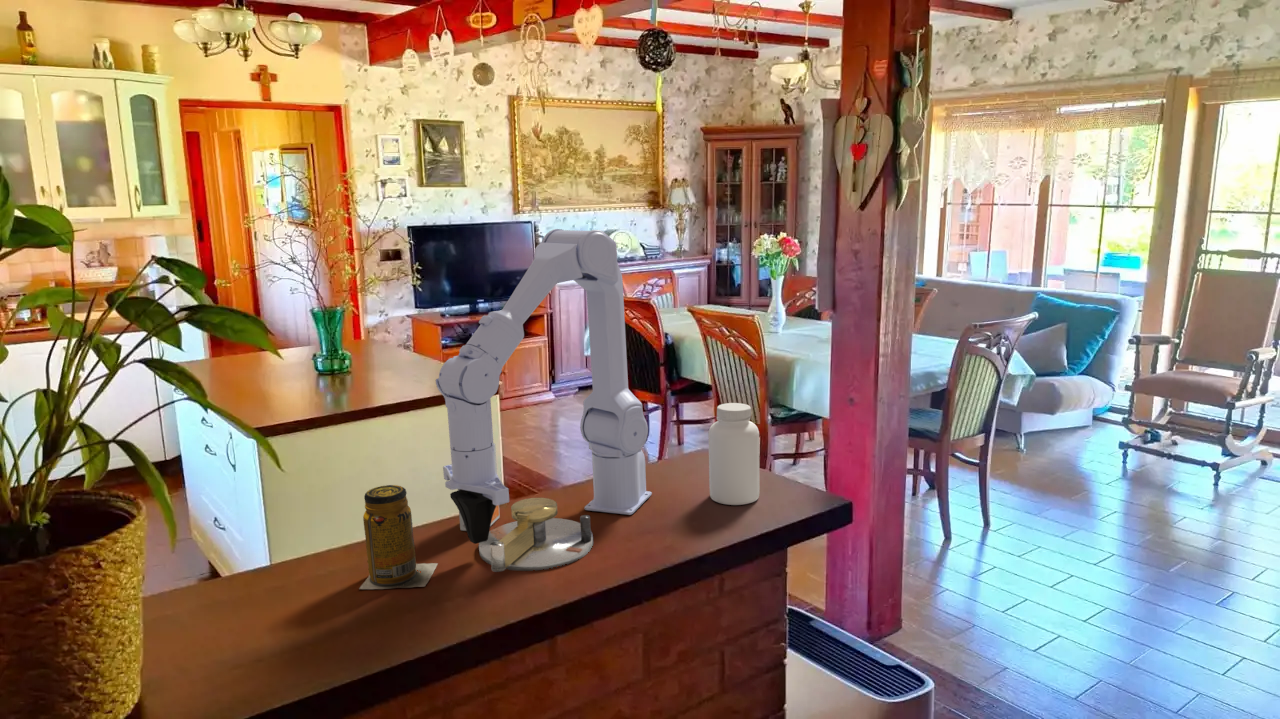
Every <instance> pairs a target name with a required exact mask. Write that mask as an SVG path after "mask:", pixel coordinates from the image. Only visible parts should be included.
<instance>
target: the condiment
mask: <svg viewBox="0 0 1280 719" xmlns="http://www.w3.org/2000/svg"><path fill="white" fill-rule="evenodd" d="M407 494H408V493H407V490H406V488H405V487H403V486H401V485H398V484H388V485H387V484H386V485H380V486H376V487H372V488H371V489H370V488H369V490H367V491H366V492H365V493H364V503H365V504H364V509H365V512H364V513H363V516H362V517H363V518H362V520H363V530H364V535H365V537H364V538H365V547H366V550H365V551H366V555H367V566H368V567H367V568H368V577H367V578H366V579H365V581H364V582H363V583H362V584H361V585H360V587H359V588H358V589H359V590H388V589H396V588H401V589H403V588H405V589H406V588H407V589H409V588H416V587H419V588H420V587H422V588H423V587H426V585H427V584H428V583H429V581H430V579H431V577H432V576H433V574H434V572H435V570H436V569H437V566H438V564H439V563H437V562H434V563H433V562H430V563H426V562H423V563H417V560H416V551H415V541H414V538H415V537H414V528H413V518H412V510H411V508H410V506H409V504H408V503H409V502H408V498H407ZM417 570H418V571H417ZM420 571H421V573H420Z"/></svg>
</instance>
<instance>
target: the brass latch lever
mask: <svg viewBox="0 0 1280 719" xmlns="http://www.w3.org/2000/svg"><path fill="white" fill-rule="evenodd" d="M510 510H511V518H512V520H514V521H517V527H516V528H515V529H514V530H512V531H511V532H510V533H508V534H507V535H506V536H505V537H503V538H502V539H501V540H499V541H498V542H493V543H491V544H490V554H491V565H490V566H491V568H490V569H491V571H492V572H494V573H500V572H504V571H505V570H507V569H506V568H507V567H508V566H509V565H510V564H511V563H512V562H514V561H515V560H516V559H517V558H518V557H519V556H521V555H522V554H523V553H524V552H525V551H527V550H528V549H529V548H530V547H531V546H532V545H534V536H533V523H536V522H542V521H546V520H549V519H552V518H556V516H557V515H558V503H557V501H555V500H554V499H551V498H548V497H531V498H525V499H524V498H523V499H520V500H518V501H515V502H514V503H513V504H512V505H511V507H510Z"/></svg>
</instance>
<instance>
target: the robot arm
mask: <svg viewBox="0 0 1280 719" xmlns="http://www.w3.org/2000/svg"><path fill="white" fill-rule="evenodd" d="M617 247H618V246H617V242H616V241H615V240H614V239H613V238H611V236H609V235H608V234H607V233H605V232H604V231H602V230H600V229H590V230H571V229H568V230H567V229H565V230H564V229H562V228H561V229H560V228H555V229H552V230H549V231H548V232H547V233H546V234H545V235H544V237H543V238H542V240H541V242H540V243H538V245H537V246H536V247H535V249H534V258H533V260H532V262H531V264H530V265H529V267H528V268H527V270H526V271H525V273H524V274H523V276H522V278H521V280H520V281H519V283H518V284H517V285H516V287H515V289H514V290H513V292H512V294H511V295H510V296H509V299H508V300H507V302H506V303H505V304H504V306H503V308H502V309H501V310H494V311H490V312H488V314H487V315H483V316H481V318H480V319H479V320H478V324H480V325H479V326H478V327H477V329H476V330H475V332H473V334H472V335H471V337H470V338H469V340H468V341H467V342H466V343H465V345H462V346H461V347H460V348H459V351H458V352H459V353H458V355H454V356H453V357H450V358H448V359H447V360H446V361H445V362H444V363H443V365H442V366H441V368H440V370H439V374H438V378H436V379H435V385H436V388H437V390H438V392H439V393H440V394H441V395H442V396H443V398H444V401H445V402H444V403H445V408H446V409H447V421H448V433H449V434H448V435H449V447H450V448H449V449H450V459H451V460H450V461H451V464H447V465H444V466H442V469H443V470H442V471H443V472H442V473H443V479H444V480H445V483H444V485H445V488H446V489H448V490H451V491H452V492H451V493H450V494H449V495H450V499H451V500H452V501H453V503H454V504H455V506H456V508H457V509H458V510H457V511H458V513H459V512H460V514H461V516H462V519H463V522H464V524H465V528H466V531H465V532H466V534H467V536H468V539H469V541H470V542H471V543H473V544H474V545H477V544H479V543H480V542H483V541H487V540H488V536H489V531H491V530H490V528H491V526H492V525H491V520H492V516H493V513H494V510H495V508H496V506H497V505H499V506H500V505H504V504H507V503H509V502H510V494H509V492H510V491H509V490H510V488H508V487H507V486H505V484H503V482H502V480H501V479H500V477H499V475H498V473H497V474H496V472H495V457H494V432H493V430H494V429H493V416H492V401H491V400H492V399H491V398H492V397H493V396H494V395H495V394H496V393H497V391H498V389H499V387H500V386H499V385H500V376H501V373H502V372H503V371H502V370H503V367H504V366H505V365H506V363H507V361H509V359H510V358H511V356H512V355H513V353H514V352H515V351H516V349H517V348H518V346H519V345H520V344H521V342H522V341H523V339H524V338H525V331H524V324H525V322H526V321H527V320H528V319H529V318H530V316H531V315H532V314H533V312H534V311H535V310H536V309H537V308H538V307H539V305H541V303H542V302H543V301H544V299H545V298H546V297H547V296H548V294H549V293H551V291H552V290H553V289H554V287H555V286H556V285H557V284H560V283H565V282H570V281H574V282H575V283H576V284H578V285H579V286H580V287H581V288H583V289H584V290H585V291H586V302H587V304H586V305H587V317H588V318H587V319H588V321H587V322H588V333H589V334H588V335H589V336H588V338H589V349H590V350H589V351H590V352H589V354H590V368H591V381H592V382H591V385H592V391H591V393H589V395H588V396H586V398H584V400H583V413H582V417H581V420H580V426H579V428H580V434H581V436H582V438H583V440H585V441H586V442H587V443H588V450H591V463H592V481H593V482H592V484H593V486H592V487H593V499H592V500H591V501H589V503H587V504H586V505H584V510H585V511H589V512H590V511H592V512H600V513H609V514H620V515H628V516H631V515H633V514H634V513H635V512H636V511H637V510H638V509H639V508H640V507H641V506H642V505H643V504H644V503H645V502H646V501H647V500H648V499H649V498H650V497H651V496H652V494H653V492H652V491H650V490H649V491H648V490H647V479H646V478H647V477H646V458H645V457H646V456H645V454H644V452H643V450H642V447H644V445H645V443H646V442H647V440H648V435H649V425H648V423H647V419H646V417H645V415H644V411H643V403H642V402H641V401H640V399H639V398H637V397H636V396H635V395H634V393H633V392H632V391H631V390H630V389H629V379H628V378H629V377H628V375H629V373H628V359H627V358H628V357H627V340H626V338H627V337H626V322H625V321H626V318H625V302H624V300H625V299H624V283H623V274H622V270H621V268H620V265H619V263H618V252H617V250H618V249H617ZM458 489H459V491H458ZM453 490H455V491H453ZM490 525H491V526H490Z"/></svg>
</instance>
